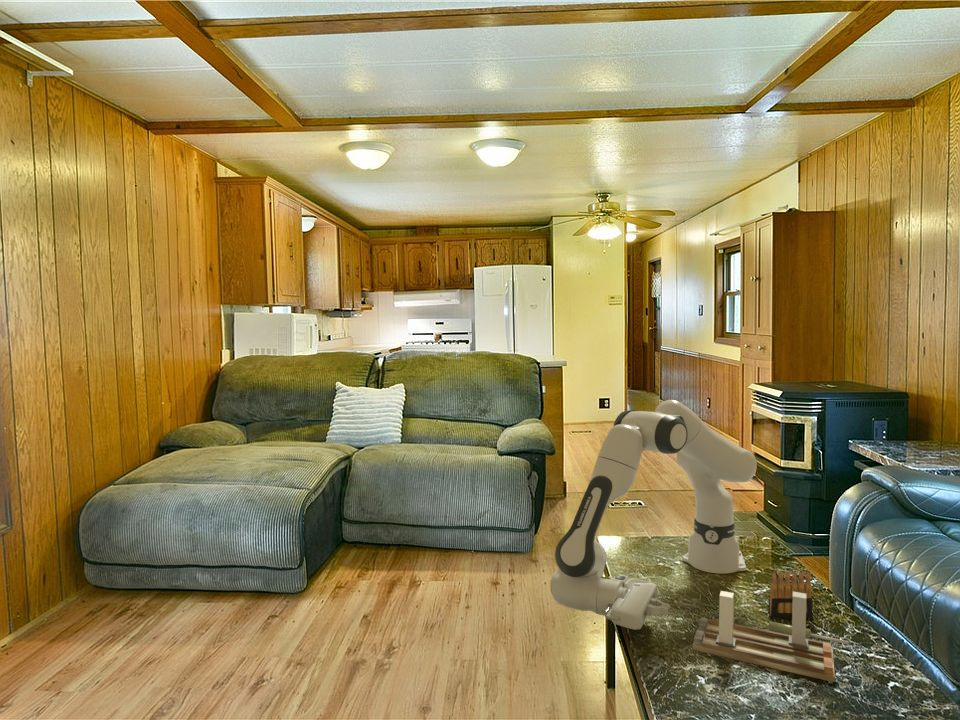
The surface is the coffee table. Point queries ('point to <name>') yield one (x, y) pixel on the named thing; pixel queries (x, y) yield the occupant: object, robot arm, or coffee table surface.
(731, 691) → the coffee table surface
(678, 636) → the coffee table surface
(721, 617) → the beige rectangular pillar
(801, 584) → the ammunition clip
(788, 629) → the screwdriver
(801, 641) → the pillar on grey base
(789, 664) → the wooden double track board
